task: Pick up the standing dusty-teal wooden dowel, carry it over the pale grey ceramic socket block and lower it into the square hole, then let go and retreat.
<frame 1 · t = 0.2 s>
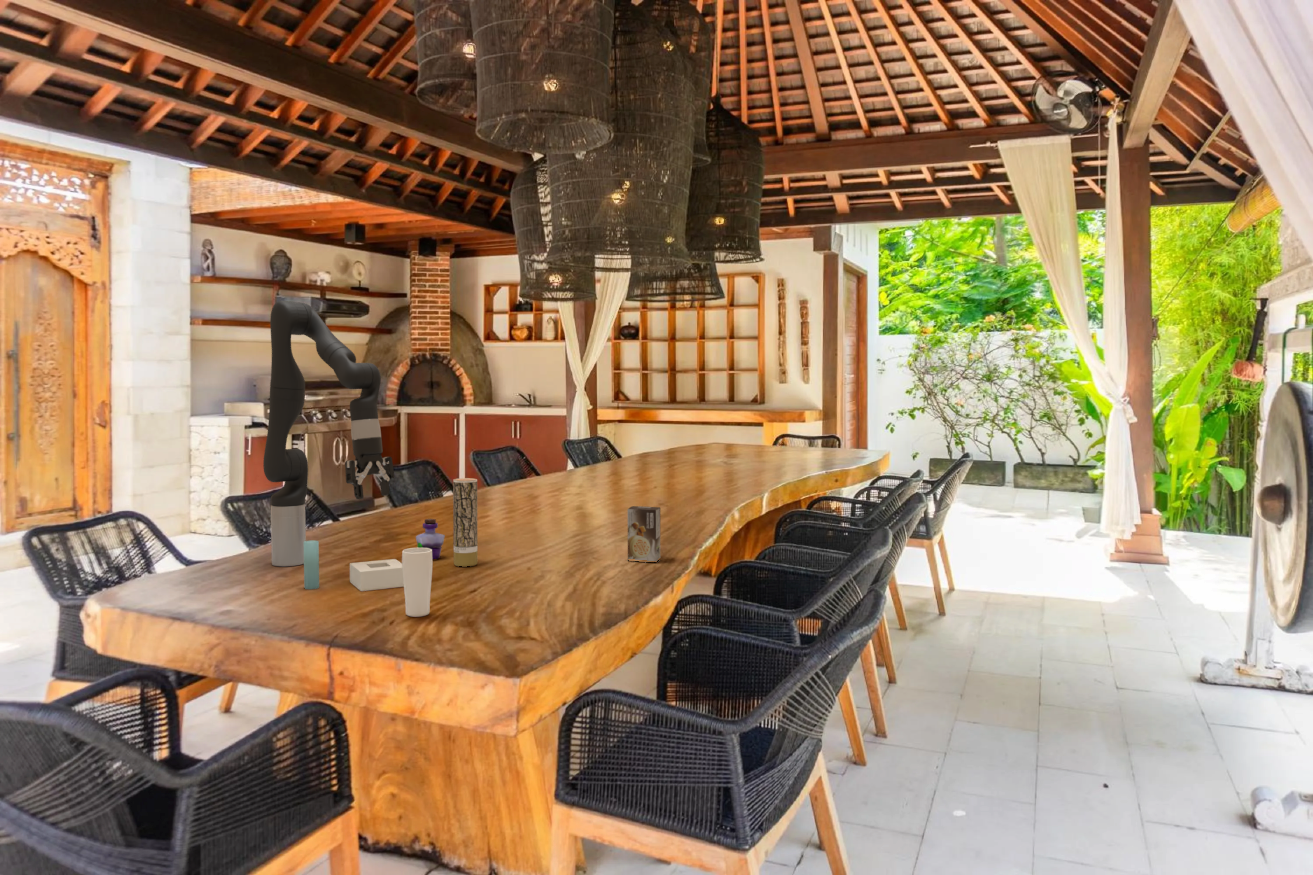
hand: (372, 497, 243), 22 cm above the table, tool pointing down, fingers open, 8 cm apart
peg: (311, 587, 235), on the table
socket block: (378, 583, 240), on the table
potion bottle: (430, 559, 273), on the table
drinking glass: (417, 615, 210), on the table
coffee box: (644, 561, 274), on the table
paper tube: (465, 565, 264), on the table
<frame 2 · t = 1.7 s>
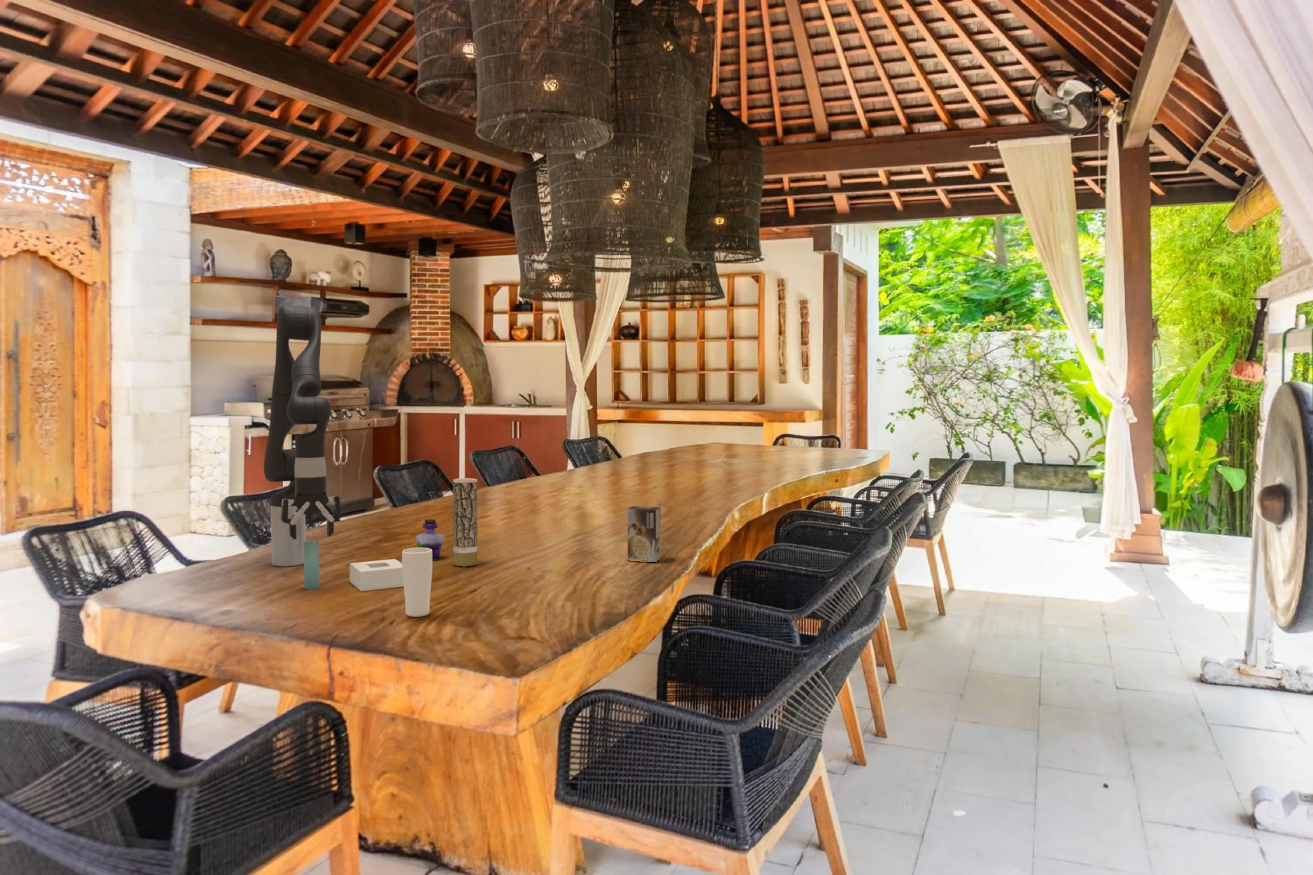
hand: (311, 537, 234), 13 cm above the table, tool pointing down, fingers open, 8 cm apart
nothing on the table moved.
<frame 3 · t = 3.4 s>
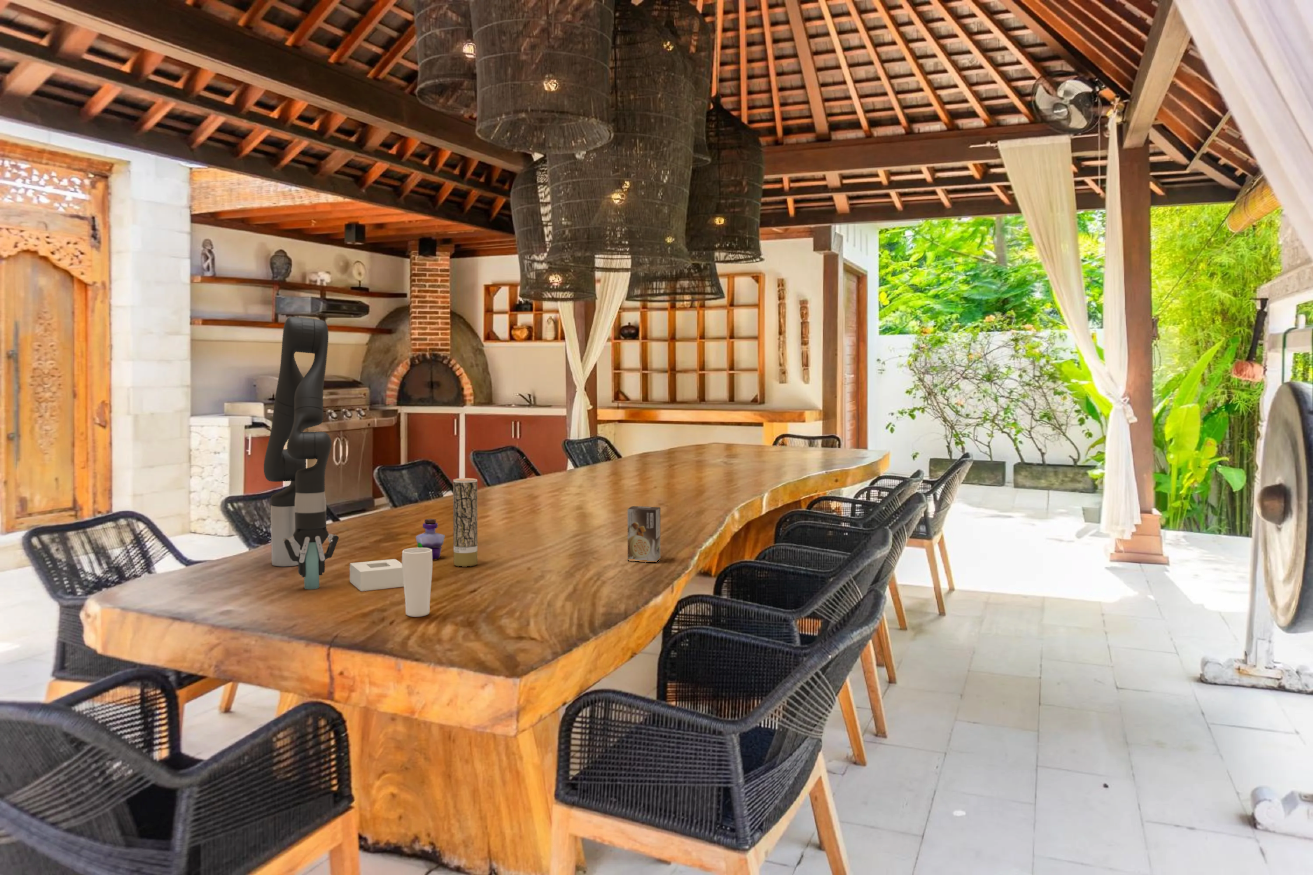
hand: (311, 575, 234), 3 cm above the table, tool pointing down, fingers closed on peg, 3 cm apart
peg: (311, 587, 235), on the table, touching gripper
everything else where it was.
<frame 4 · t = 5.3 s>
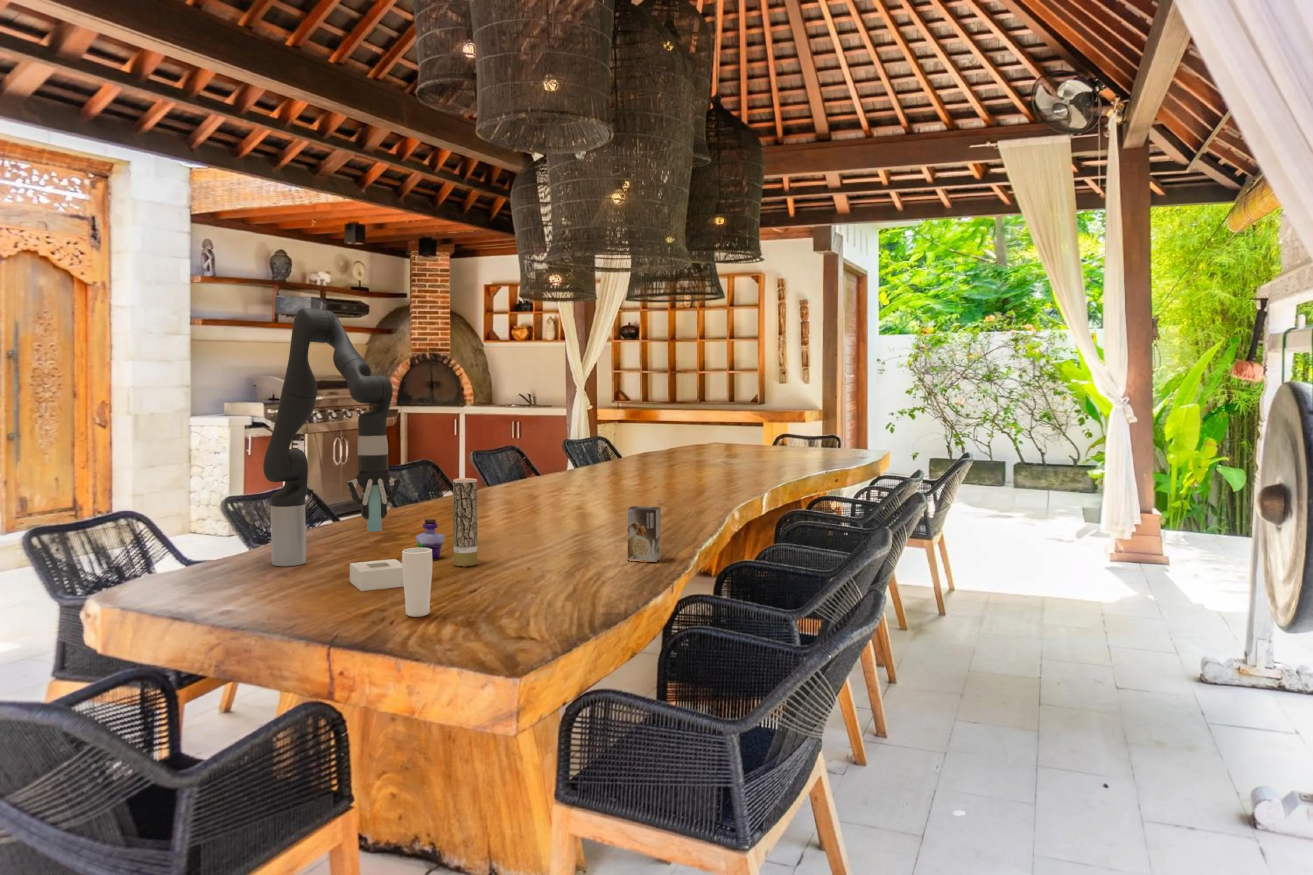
hand: (374, 518, 238), 18 cm above the table, tool pointing down, fingers closed on peg, 3 cm apart
peg: (374, 530, 238), point 14 cm above the table, touching gripper
everything else where it was.
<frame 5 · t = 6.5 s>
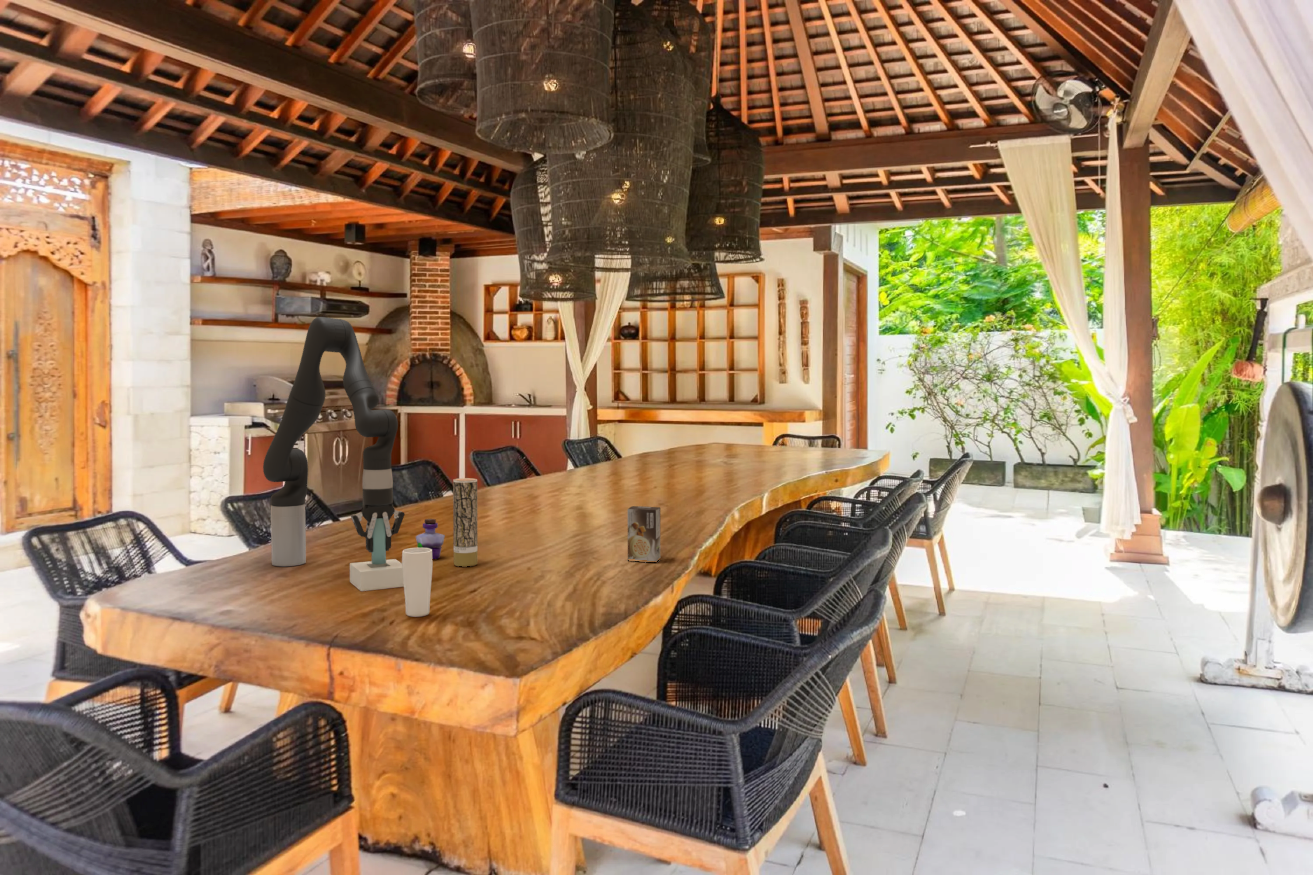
hand: (378, 550, 239), 9 cm above the table, tool pointing down, fingers closed on peg, 3 cm apart
peg: (378, 563, 239), point 6 cm above the table, touching gripper
everything else where it was.
when the fingers open (7 cm above the table, at t = 7.2 s): peg drops 3 cm, resting in socket block.
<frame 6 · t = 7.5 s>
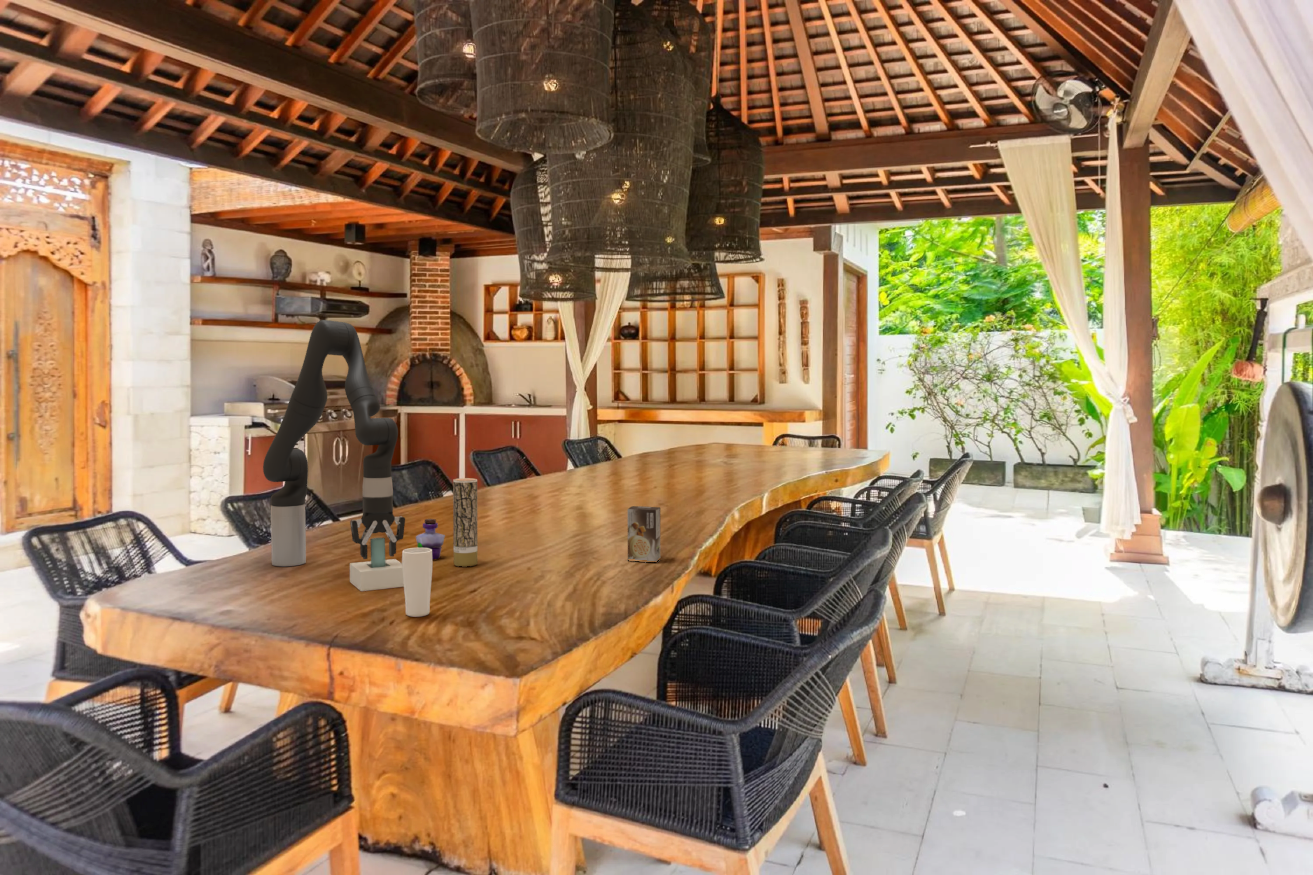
hand: (378, 557, 239), 7 cm above the table, tool pointing down, fingers open, 6 cm apart
peg: (378, 583, 240), resting in socket block
everything else where it was.
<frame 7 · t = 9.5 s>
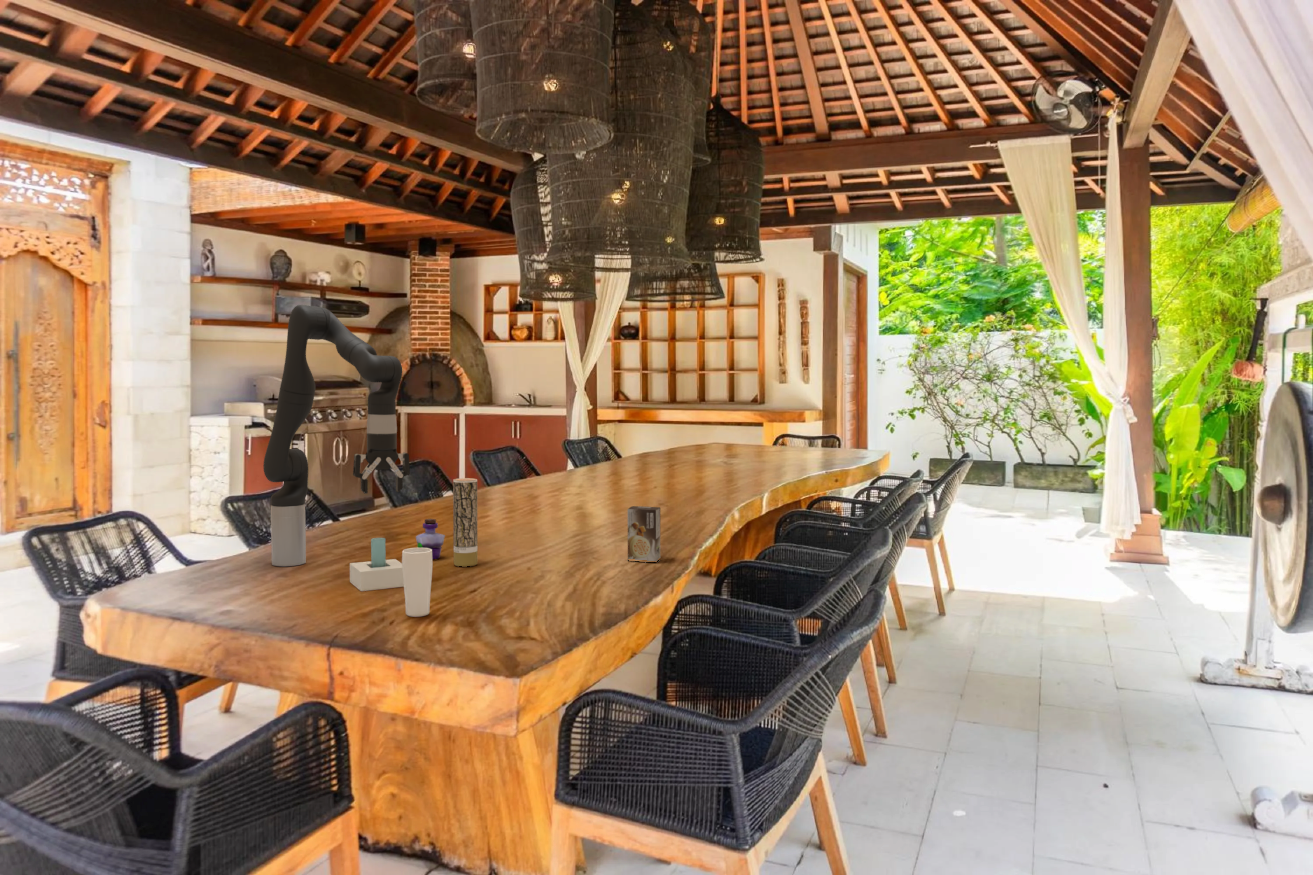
hand: (381, 492, 241), 24 cm above the table, tool pointing down, fingers open, 8 cm apart
nothing on the table moved.
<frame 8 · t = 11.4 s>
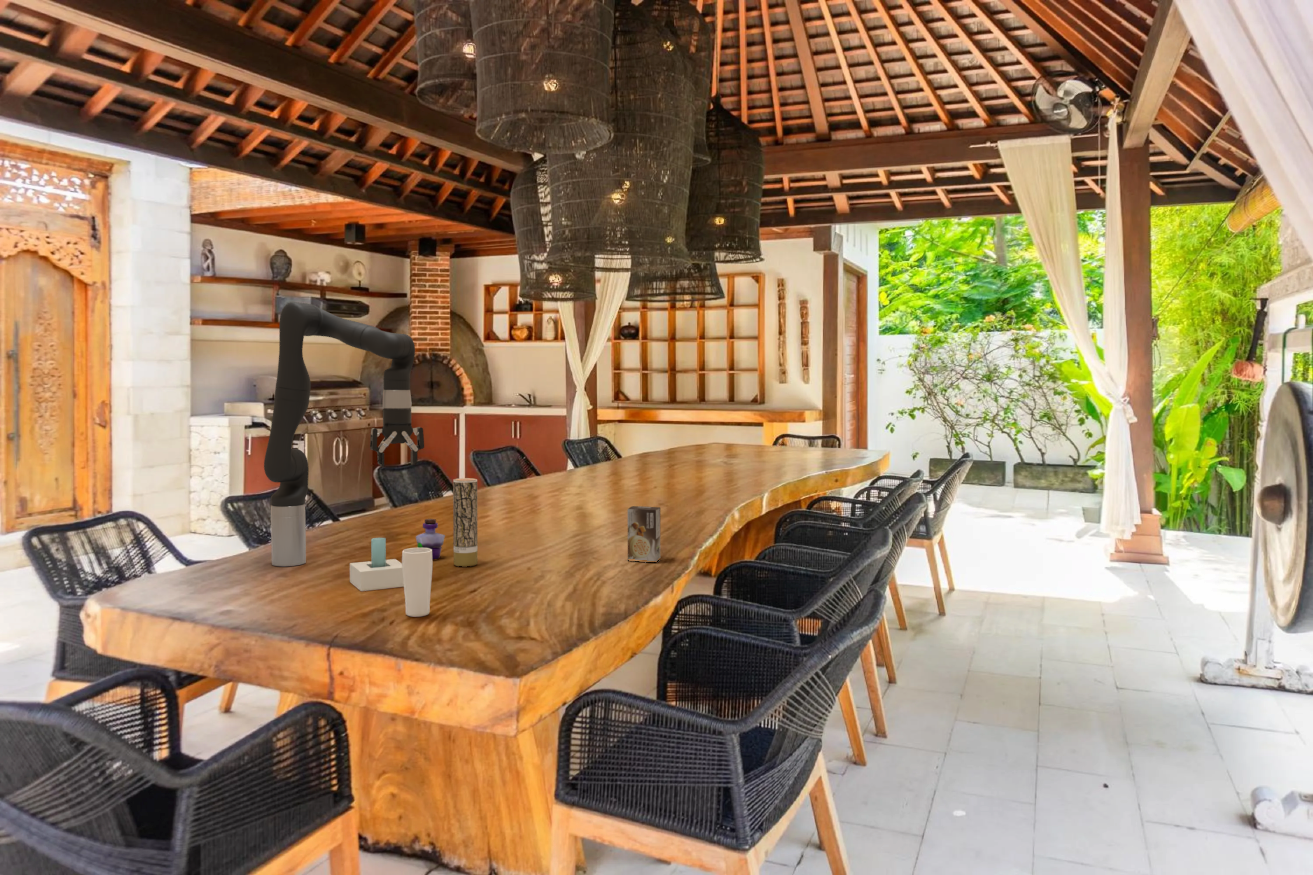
hand: (397, 465, 250), 30 cm above the table, tool pointing down, fingers open, 8 cm apart
nothing on the table moved.
at the end: peg 0.0 cm off-centre on the socket block, point 0.0 cm above the socket block's base; peg tilted 0°; the gripper is holding nothing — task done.
